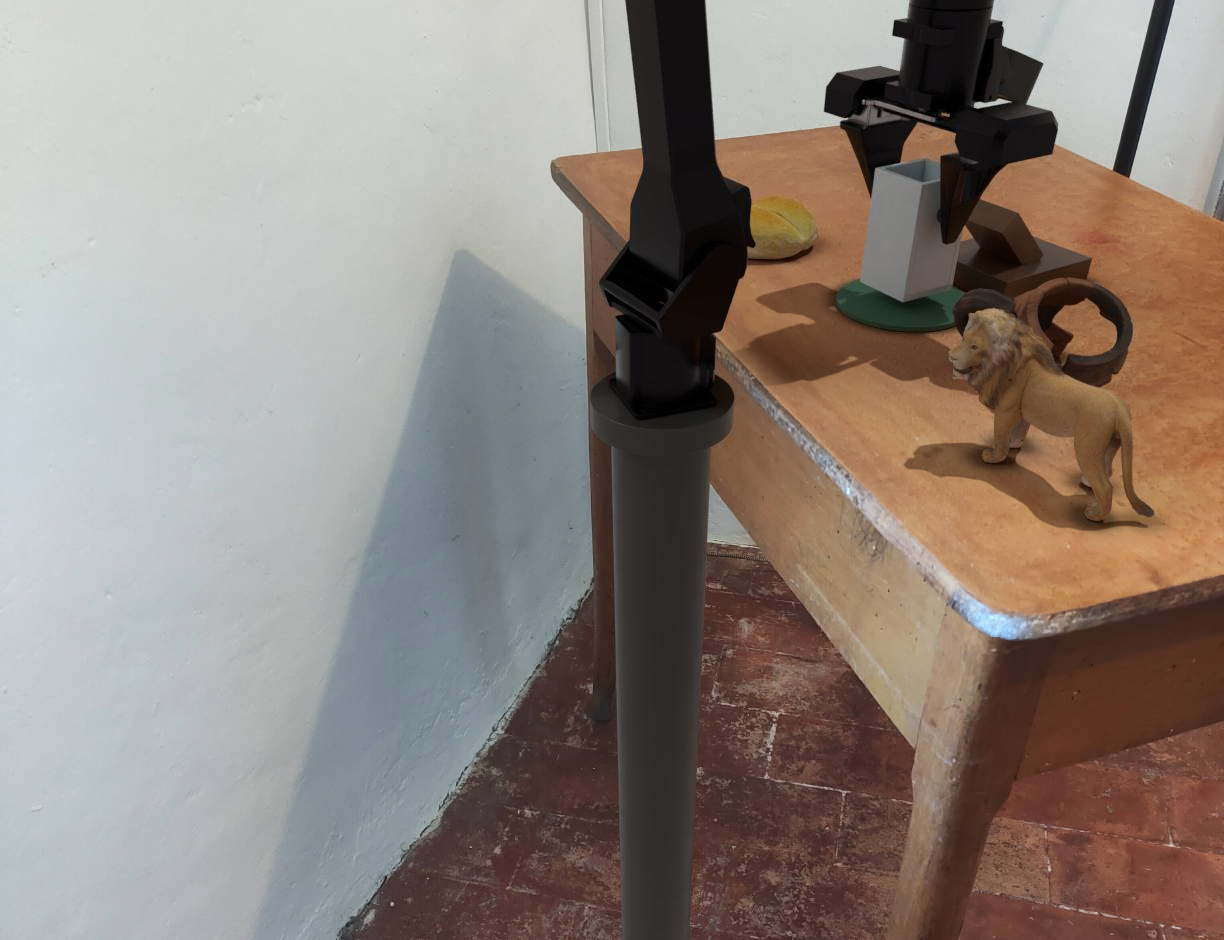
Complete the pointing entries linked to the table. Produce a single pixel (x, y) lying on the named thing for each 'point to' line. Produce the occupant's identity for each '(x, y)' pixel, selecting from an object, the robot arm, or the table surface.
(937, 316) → the coaster
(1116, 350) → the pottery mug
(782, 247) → the bread roll
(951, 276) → the grey storage bin
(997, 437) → the lion figurine
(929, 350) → the table surface
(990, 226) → the tilted cube pedestal
